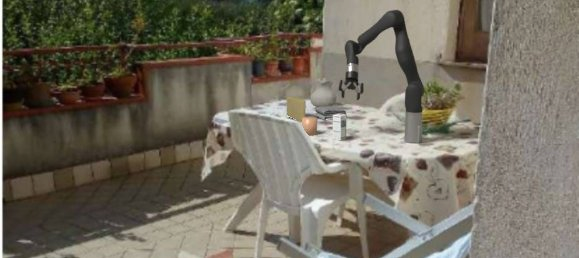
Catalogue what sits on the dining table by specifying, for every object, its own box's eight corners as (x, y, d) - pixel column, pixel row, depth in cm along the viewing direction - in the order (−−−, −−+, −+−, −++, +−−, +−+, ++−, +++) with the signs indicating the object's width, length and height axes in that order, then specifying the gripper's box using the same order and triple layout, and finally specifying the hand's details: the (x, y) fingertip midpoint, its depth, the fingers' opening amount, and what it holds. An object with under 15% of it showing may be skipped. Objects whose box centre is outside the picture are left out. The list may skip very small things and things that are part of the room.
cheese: (311, 122, 380) (311, 100, 377) (297, 123, 377) (297, 101, 374) (299, 117, 401) (299, 95, 398) (286, 117, 398) (286, 96, 395)
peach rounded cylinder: (319, 133, 347) (319, 117, 345) (313, 136, 339) (313, 119, 337) (305, 132, 351) (306, 116, 349) (299, 134, 343) (299, 118, 341)
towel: (314, 117, 401) (314, 106, 400) (337, 115, 408) (337, 104, 407) (323, 121, 388) (324, 109, 386) (347, 119, 395) (348, 108, 393)
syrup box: (340, 140, 328) (341, 115, 325) (332, 139, 332) (332, 114, 329) (346, 139, 333) (347, 114, 330) (338, 137, 336) (338, 113, 333)
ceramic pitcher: (308, 108, 441) (306, 76, 436) (333, 106, 443) (332, 74, 438) (313, 113, 420) (310, 79, 415) (339, 111, 422) (337, 77, 417)
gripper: (341, 68, 330) (340, 94, 325) (365, 72, 332) (364, 98, 327) (338, 73, 337) (336, 99, 332) (361, 77, 339) (360, 102, 334)
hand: (350, 98), depth 330 cm, fingers open, 8 cm apart
